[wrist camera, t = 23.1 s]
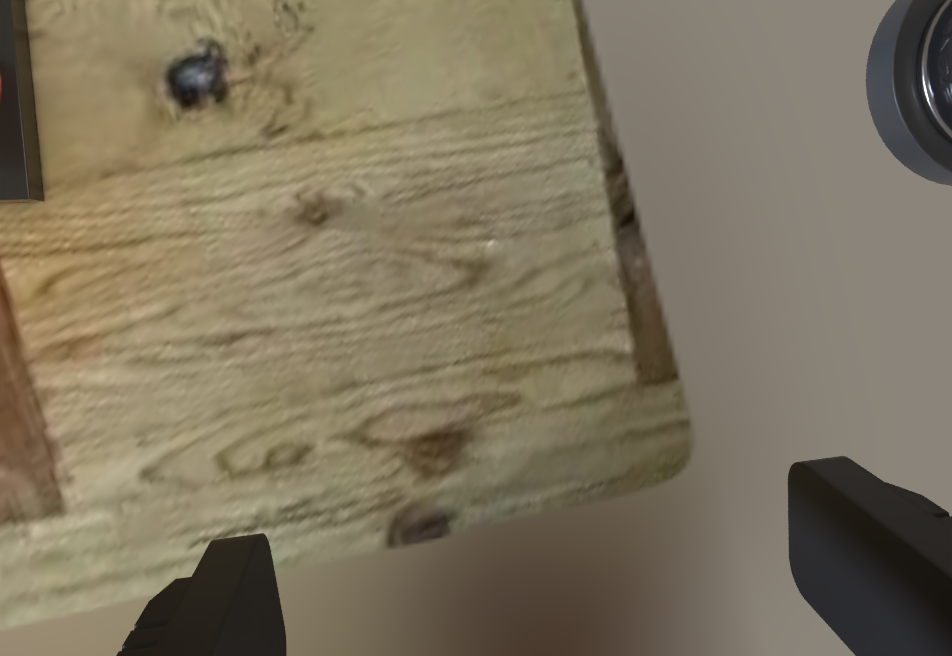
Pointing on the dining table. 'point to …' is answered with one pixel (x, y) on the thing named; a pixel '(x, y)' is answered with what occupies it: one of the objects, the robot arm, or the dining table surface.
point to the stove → (17, 111)
